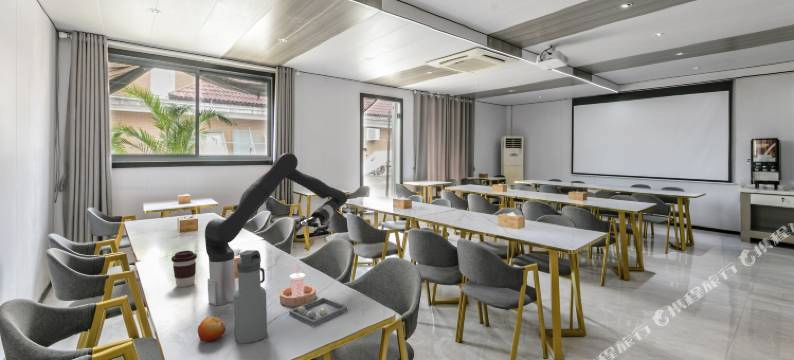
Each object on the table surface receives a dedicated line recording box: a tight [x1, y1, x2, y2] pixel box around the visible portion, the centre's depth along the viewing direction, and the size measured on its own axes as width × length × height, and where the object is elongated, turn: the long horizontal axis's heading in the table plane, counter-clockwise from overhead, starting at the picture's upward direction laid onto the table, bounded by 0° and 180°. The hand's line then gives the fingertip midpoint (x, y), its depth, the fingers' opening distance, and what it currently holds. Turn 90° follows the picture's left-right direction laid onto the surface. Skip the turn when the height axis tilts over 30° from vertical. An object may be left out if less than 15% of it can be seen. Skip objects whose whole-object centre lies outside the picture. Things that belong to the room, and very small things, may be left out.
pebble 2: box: [307, 310, 317, 321], centre depth 130 cm, size 3×3×3 cm
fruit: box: [197, 316, 226, 344], centre depth 116 cm, size 8×8×8 cm
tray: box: [288, 297, 348, 327], centre depth 136 cm, size 16×14×2 cm
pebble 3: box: [318, 307, 329, 317], centre depth 132 cm, size 3×3×3 cm
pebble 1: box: [297, 305, 307, 316], centre depth 134 cm, size 3×3×3 cm
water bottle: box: [233, 249, 268, 344], centre depth 117 cm, size 10×10×28 cm
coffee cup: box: [170, 250, 198, 288], centre depth 165 cm, size 10×10×15 cm
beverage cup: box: [289, 262, 306, 297], centre depth 148 cm, size 6×6×14 cm
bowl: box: [279, 284, 317, 307], centre depth 149 cm, size 14×14×3 cm
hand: (305, 231), depth 155 cm, fingers open, 8 cm apart
